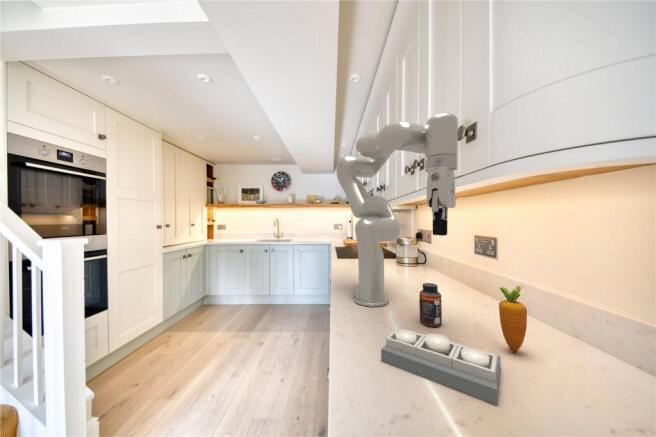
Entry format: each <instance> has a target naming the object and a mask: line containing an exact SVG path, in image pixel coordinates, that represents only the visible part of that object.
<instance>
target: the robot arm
mask: <svg viewBox="0 0 656 437" xmlns="http://www.w3.org/2000/svg"><path fill="white" fill-rule="evenodd" d="M458 126H459V122H458V117H457V115H455V114H453V113H449V112H447V113H446V112H445V113H438V114H434V115H433V116H431V117H430V118H428V119H427V120H426V123H425V125H422V124H418V123H415V122H409V121H398V122H392V123H388V124H385V125H384V126H382V128H380V130H379V131H376V132H373V133H368V134H364V135H362V136H360V137H359V138H358V139H357V140H356V143H355V149H356V152H357V153H358V154H359V156H357V155H344V156H342V157H340V158H339V160H338V161H337V164H336V177H337V181H338V183H339V185H340V187H341V188H342V190H343V192H344V194H345V197H346V200H347V203H348V205H349V208H350V211H351V213H352V215H353V216H354V217H355V218H356V219H359V220H357V222H356V223H355V227H354V232H355V237H356V243H357V244H356V245H357V259H358V264H357V265H358V266H357V268H358V269H357V270H358V271H357V272H358V273H357V274H358V287H357V286H351V287H350V293H351V294H355V295H356V296H355V297H354V302H355V303H357V305H360V306H364V307H374V308H375V307H376V308H377V307H383V306H387V305H388V304H389V303H390V302H389V300H390V299H389V297H387V296H386V295H385V261H384V259H385V258H384V257H385V256H384V251H383V249H382V247H381V245H380V243H386V242H393V241H395V240H397V239H398V238H399V236H400V233H401V232H400V230H401V229H400V225H399V222H398V220H397V219H398V218H396V214H395V213H394V211H393V208H392V206H391V205H390V203H389V201H388V199H386V198H385V197H384V196H380V195H372V194H371V195H370V194H369V193H368V192H367V190H366V186H365V185H364V184H363V183H362V181H360V180H359V179H358V178H364V179H367V178H368V179H369V178H373V177H374V176H376V175H377V174H378V173H379V171H381V169H382V167H384V165H386V164H385V163H386V162H388V159H389V158H390V157H391V155H392V154H394V152H395V151H403V152H411V153H415V154H425V155H424V157H425V159H424V160H425V161H424V162H425V166H424V172H425V173H427V179H426V205H427V207H428V208H431V212H432V214H431V215H432V235H433V236H447V235H448V214H449V211H448V209H454V208H455V207H456V203H457V202H456V200H457V199H456V179H455V178H456V177H455V171H458V135H459V134H458V132H459V127H458Z"/></svg>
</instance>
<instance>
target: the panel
mask: <svg viewBox="0 0 656 437" xmlns="http://www.w3.org/2000/svg"><path fill="white" fill-rule="evenodd" d="M400 329H401V328H399V327H396V328H395V329H394V331H392V332H391V333H390V334H389V335H387V337H386V338H385V345H383V347H382V348H381V350H380V351H381V353H380V358H381V362H384V363H386V364H389V365H391V366H393V367H396V368H399V369H401V370H404V371H407V372H409V373H412V374H414V375H417V376H419V377H422V378H425V379H428V380H430V381H433V382H435V383H437V384H440V385H443V386H446V387H447V388H451V389H454V390H455V391H458V392H461V393H463V394H466V395H469V396H472V397H473V398H477V399H478V400H482V401H484V402H487V403H490V404H492V405H495V406H498V399H499V390H500V380H501V379H500V378H501V372H502V371H501V368H502V367H501V355H498V354H494V353H492V352H488V351H485V350H483V351H484V352H485V353H487V354H488V356H489V369H488V368H485V367H482V366H478V365H475V364H472V363H469V362H466V361H462V360H461V350H462V349H463V348H466V347H468V346H466V345H462V344H459V343H456V342H452V341H449V345H450V352H449V353H448V354H445V355H443V354H440V353H437V352H433V351H430V350H427V349H426V335H427V334H423V333H419V332H416V331H413V332H414V333H416V340H417V342H416V343H415V344H414V345H411V344H408V343H405V342H401V341H398V340H396V338H395V332H396V331H397V330H400Z"/></svg>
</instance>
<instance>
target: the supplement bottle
mask: <svg viewBox="0 0 656 437" xmlns="http://www.w3.org/2000/svg"><path fill="white" fill-rule="evenodd" d="M421 288H422V290H420V291H419V292H418V293H419V294H418V295H419V298H418V301H419V302H418V303H419V304H418V305H419V307H418V308H419V322H420V323H421V324H422V325H424V326H426V327H432V328H437V327H438V328H439V327H441V325H442V324H443V320H442V319H443V314H442V312H443V311H442V308H443V306H442V293H441V292H439V288H438V285H437V284H436V283H433V282H431V283H430V282H423V283H422V287H421Z"/></svg>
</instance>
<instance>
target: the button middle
mask: <svg viewBox="0 0 656 437" xmlns="http://www.w3.org/2000/svg"><path fill="white" fill-rule="evenodd" d="M425 335H426V349H427V350H430V351H433V352H437V353H440V354H443V355H445V354H448V353H449V352H450V345H449V342H450V339H449V338H448V337H447V336H446V335H442V334H439V333H428V334H425Z"/></svg>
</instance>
